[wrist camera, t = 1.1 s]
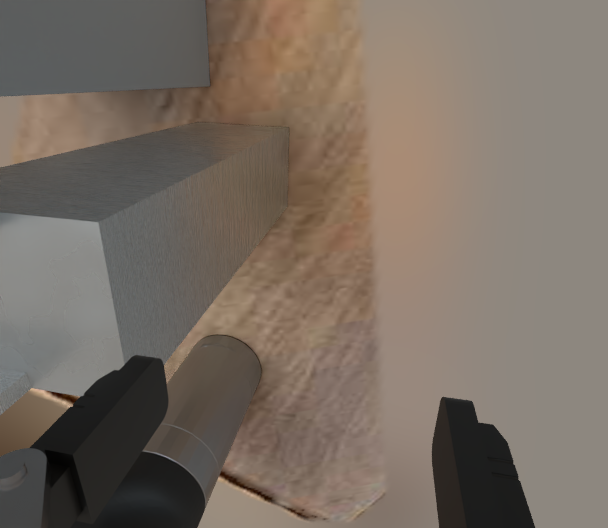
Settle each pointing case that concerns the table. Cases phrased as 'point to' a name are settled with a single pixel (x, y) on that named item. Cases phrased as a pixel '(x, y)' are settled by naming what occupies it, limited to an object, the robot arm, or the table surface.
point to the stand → (102, 45)
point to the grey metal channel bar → (127, 247)
